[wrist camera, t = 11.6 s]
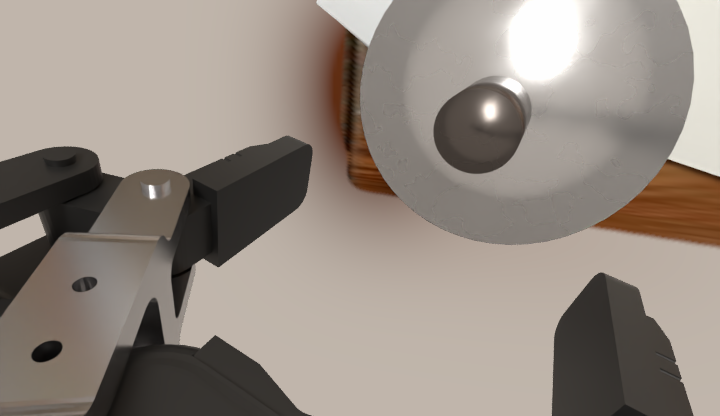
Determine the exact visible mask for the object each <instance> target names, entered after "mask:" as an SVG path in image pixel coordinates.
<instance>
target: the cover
mask: <svg viewBox="0 0 720 416" xmlns="http://www.w3.org/2000/svg"><path fill="white" fill-rule="evenodd" d="M693 84H694V55H693V49H692V44H691V39H690V34H689V29H688V26H687V23H686V21H685V18H684V16H683V13H682V11H681V9H680V6H679V4H678V2H677V0H393V1H392V3H391V4H390V6H389V7H388V9H387V10H386V11H385V13H384V15H383V17H382V19H381V20H380V22H379V24H378V26H377V28H376V30H375V32H374V35H373V37H372V40H371V42H370V45H369V47H368V51H367V54H366V58H365V62H364V66H363V71H362V78H361V86H360V109H361V120H362V125H363V130H364V135H365V138H366V141H367V145H368V148H369V151H370V153H371V155H372V158H373V160H374V162H375V164H376V166H377V168H378V170H379V171H380V173H381V175H382V177H383V178H384V180H385V181H386V182H387V184H388V185H389V186H390V188H391V189H392V190H393V192H394V193H395V194H396V195H397V196H398V197H399V198H400V199H401V200H402V201H403V202H404V203H405V204H406V205H407V206H408V207H410V208H411V209H412V210H413V211H414V212H415V213H417V214H418V215H420V216H421V217H422V218H424V219H426V220H427V221H428V222H430V223H432V224H434V225H436V226H438V227H439V228H441V229H443V230H445V231H448V232H450V233H453V234H455V235H458V236H461V237H465V238H468V239H471V240H475V241H481V242H486V243H492V244H506V245H513V244H532V243H539V242H545V241H550V240H554V239H558V238H562V237H566V236H569V235H571V234H574V233H577V232H579V231H582V230H584V229H587V228H589V227H591V226H593V225H595V224H597V223H598V222H600V221H602V220H604V219H606V218H608V217H609V216H611V215H612V214H614V213H615V212H616V211H618V210H619V209H621V208H622V207H624V206H625V205H626V204H627V203H629V202H630V201H631V200H632V199H633V198H634V197H635V196H637V195H638V194H639V193H640V192H641V191H642V190H643V189H644V188H645V187H646V186H647V185H648V183H649V182H650V181H651V180H652V179H653V178H654V177H655V176H656V174H657V173H658V172H659V171H660V169H661V168H662V166H663V165H664V163H665V162H666V160H667V159H668V157H669V156H670V154H671V153H672V151H673V149H674V147H675V145H676V143H677V141H678V139H679V136H680V134H681V132H682V130H683V127H684V124H685V121H686V118H687V115H688V111H689V108H690V105H691V98H692V91H693Z"/></svg>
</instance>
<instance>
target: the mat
mask: <svg viewBox="0 0 720 416" xmlns="http://www.w3.org/2000/svg"><path fill="white" fill-rule="evenodd" d="M677 2H678V4H679V6H680V9H681V11H682V13H683V16H684V18H685V21H686V23H687V26H688V29H689V34H690V39H691V44H692V49H693V55H694V84H693V91H692V98H691V105H690V108H689V111H688V115H687V118H686V121H685V124H684V127H683V130H682V132H681V134H680V136H679V139H678V141H677V143H676V145H675V147H674V149H673V151H672V153H671V154H670V156H669V157H668V159H669V160H672V161H675V162H678V163H681V164H684V165H687V166H690V167H693V168H696V169H699V170H702V171H705V172H708V173H711V174H714V175H717V176H719V177H720V0H677Z"/></svg>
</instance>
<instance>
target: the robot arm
mask: <svg viewBox="0 0 720 416" xmlns="http://www.w3.org/2000/svg"><path fill="white" fill-rule="evenodd" d="M311 161H312V147H311V146H310V145H309V144H306V143H304V142H302V141H300V140H297V139H295V138H293V137H290V136H285V137H282V138H280V139H278V140H276V141H273V142H272V143H269V144H264V145H257V146H250V147H248V148H245V149H243V150H241V151H239V152H236V154H232V155H229V156H227V157H225V159H220V160H218V161H216V162H213V163H211V164H209V165H206V166H204V167H202V168H200V169H197V170H195V171H193V172H190V173H188V174H186V175H182V174H180V173H178V172H175V171H171V170H164V169H151V170H144V171H139V172H136V173H133V174H131V175H129V176H127V177H126V178H122V177H118V176H114V175H109V174H105V173H102V172H101V167H100V163H99V158H98V156H97V155H96V154H95V153H94V152H92V151H90V150H88V149H84V148H79V147H53V148H47V149H42V150H39V151H35V152H32V153H29V154H25V155H22V156H19V157H15V158H12V159H9V160H5V161H2V162H0V229H2V228H4V227H7V226H9V225H11V224H14V223H16V222H18V221H21V220H23V219H25V218H28V217H30V216H33V215H35V214H37V213H39V216H40V219H41V222H42V224H43V227H44V230H45V233H46V236H44V237H41V238H39V239H37V240H35V241H33V242H31V243H29V244H27V245H25V246H23V247H20V248H18V249H16V250H14V251H12V252H10V253H8V254H6V255H4V256H1V257H0V416H311V415H308V414H305V413H303V412H301V411H300V410H298V409H297V408H296V407H295V405H294V404H293V403H292V402H291V401H290V400H289V398H288V397H287V396H286V395H285V394H284V393H283V391H282V390H281V389H280V388H279V387H278V385H277V384H276V383H275V382H274V381H273V380H272V378H271V377H270V376H269V375H268V374H267V372H265V370H264V369H263V368H262V367H261V365H260V364H258V363H257V362H255V361H254V360H252V359H251V358H249V357H248V356H246V355H245V354H243V353H242V352H240V351H239V350H237V349H235V348H234V347H232V346H231V345H229V344H228V343H226V342H225V341H223V340H222V339H220V338H219V337H217V336H216V335H215V336H214V337H213V338H212V339H211V340H209V342H207V343H206V344H205V345H204V346H203V347H202V348H201V349H200V348H197V347H191V346H186V345H179V341H180V333H181V327H182V323H183V319H184V315H185V311H186V307H187V303H188V299H189V295H190V291H191V287H192V283H193V279H194V275H195V263H197V262H198V261H200V260H201V259H203V258H204V259H205V260H207V261H208V262H210V263H212V264H213V265H215V266H217V267H220V266H221V265H222V264H224V263H225V262H226V261H227V260H229V259H230V258H232V257H233V256H234V255H236V254H237V253H238V252H240V251H241V250H242V249H244V248H245V247H246V246H247V245H249V244H250V243H252V242H253V241H255V240H256V239H257V238H259V237H260V236H261V235H262V234H264V233H265V232H266V231H268V230H269V229H270V228H272V227H273V226H275V225H276V224H277V223H279V222H280V221H281V220H283V219H284V218H285V217H287V216H288V215H289V214H291V213H292V212H293V211H295V210H296V209H297V208H298V207H299V206H300V205H301V203H302V202H303V200H304V198H305V196H306V193H307V187H308V181H309V174H310V167H311ZM675 362H676V359H675V356H674V353H673V350H672V346H671V343H670V341H669V339H668V338H667V336H666V335H665V334H664V332H663V331H662V330H661V328H660V327H659V325H658V324H657V323H656V321H655V320H654V319H653V318H651V317H648V316H646V314H645V311H644V307H643V303H642V299H641V296H640V292H639V290H638V288H636V287H634V286H632V285H630V284H628V283H625V282H623V281H621V280H618V279H616V278H614V277H611V276H609V275H607V274H604V273H598V274H597V275H595V276H594V277H593V278H592V280H591V281H590V282H589V283H588V284H587V286H586V287H585V288H584V289H583V291H582V292H581V293H580V294H579V296H578V297H577V298H576V299H575V300H574V302H573V303H572V304H571V305H570V307H569V308H568V309H567V311H566V312H565V313H564V314H563V316H562V317H561V319H560V321H559V323H558V325H557V328H556V331H555V337H554V365H553V398H552V416H693V413H692V409H691V406H690V403H689V400H688V397H687V394H686V391H685V387H684V384H683V383H682V382H680V380H681V375H680V372H679V368H678V365H676V364H675Z"/></svg>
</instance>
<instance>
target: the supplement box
mask: <svg viewBox="0 0 720 416" xmlns="http://www.w3.org/2000/svg"><path fill="white" fill-rule="evenodd" d="M392 1H393V0H317V2H316V3H317V4H318V5H319V6H320V7H321V8H323V9H324V10H325V11H326V12H327V13H329V14H330V15H331V16H332V17H333V18H335V19H336V20H337V21H338V22H339V23H341V24H342V25H343V26H344V27H345V28H346V29H347V30H349V31H350V32H351V33H352V34H353V35H354V36H355V37H357V38H358V39H359V40H360V41H361V42H362V43H363V44H365V45H366V46H367V47H369V45H370V42H371V40H372V37H373V35H374V32H375V30H376V28H377V26H378V24H379V22H380V20H381V19H382V17H383V15H384V13H385V11H386V10H387V9H388V7H389V6H390V4H391V3H392Z"/></svg>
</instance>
